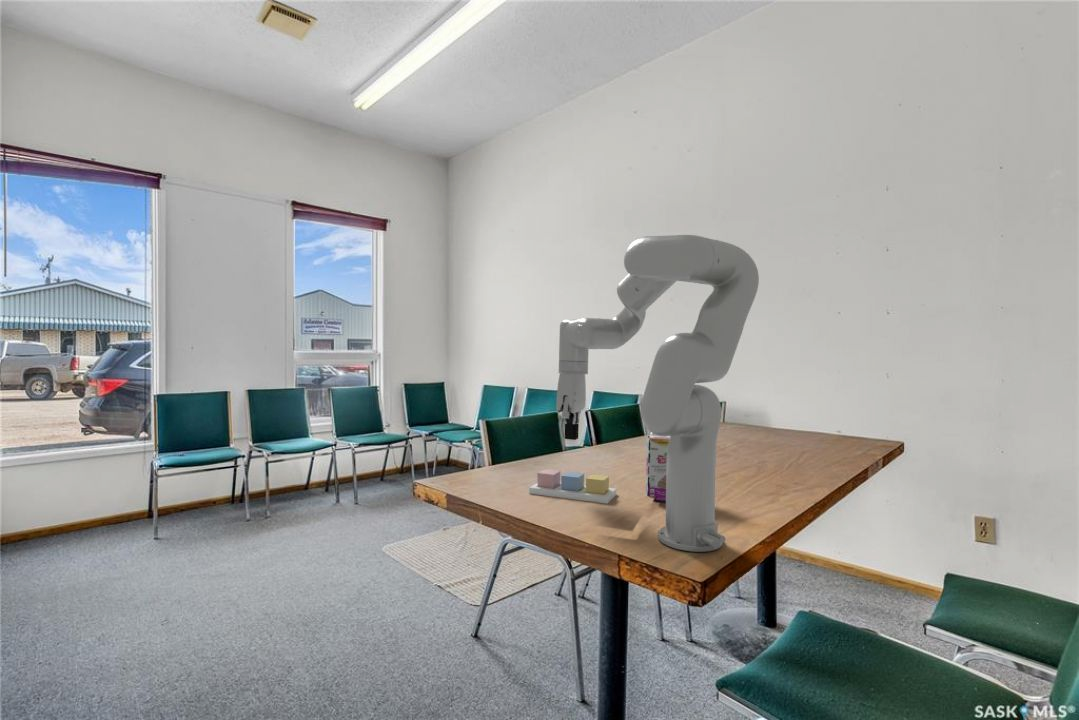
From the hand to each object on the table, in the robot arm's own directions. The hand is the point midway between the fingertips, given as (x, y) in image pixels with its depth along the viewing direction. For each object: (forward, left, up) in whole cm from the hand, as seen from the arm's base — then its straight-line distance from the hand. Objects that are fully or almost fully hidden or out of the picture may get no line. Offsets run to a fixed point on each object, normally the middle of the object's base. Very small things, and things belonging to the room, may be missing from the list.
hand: (571, 438), depth 131 cm
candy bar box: (-10, -23, -16) cm, 30 cm away
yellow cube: (-5, -5, -14) cm, 16 cm away
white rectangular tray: (-1, 0, -16) cm, 16 cm away
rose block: (+4, +4, -14) cm, 15 cm away
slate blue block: (-1, 0, -14) cm, 14 cm away
